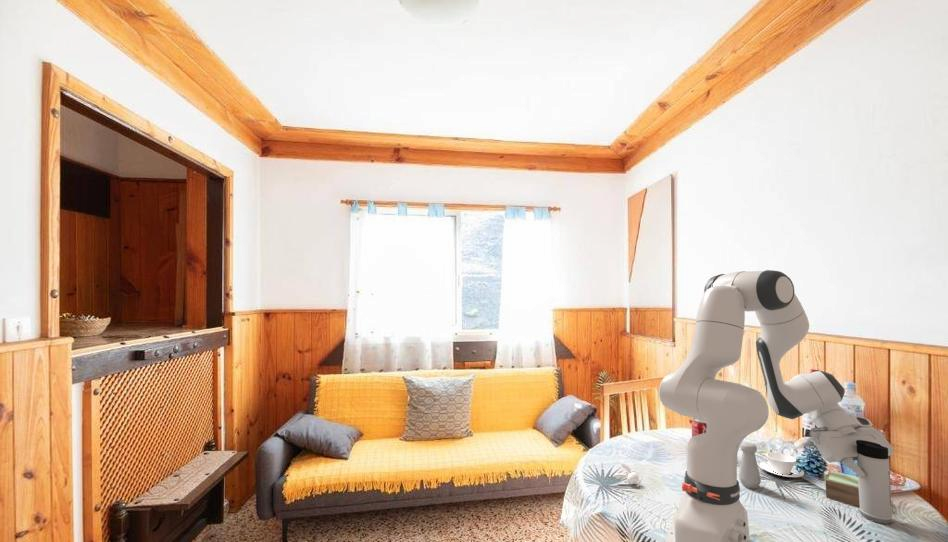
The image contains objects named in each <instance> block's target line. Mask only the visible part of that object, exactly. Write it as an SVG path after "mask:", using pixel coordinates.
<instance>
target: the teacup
mask: <svg viewBox="0 0 948 542" xmlns="http://www.w3.org/2000/svg"><path fill="white" fill-rule="evenodd" d="M760 455H761V458H762V460H763V461H761V462H760V463H759V467H760V468H761V469H762V470H764V471H766V472H768V473H770V474H774V475H777V476H782V477H787V478H801V477H803V476H804V475H805V472H804V471H803V470H802V471H801V472H800V473H798V474H792V475H788V474H790V472H791V470H792V468H793V466H795V464H796V462H797V459H796V458H795V457H794V456H792V455H789V454H786V453H782V452H775V451H773V452H772V451H769V452H766V453H763V452H762V453H760ZM764 456H765V457H766V458H767V461H766V459H765V457H764ZM773 471H774V472H773ZM775 472H776V473H775ZM777 473H778V474H777ZM782 474H783V475H782Z"/></svg>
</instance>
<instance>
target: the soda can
mask: <svg viewBox="0 0 948 542" xmlns="http://www.w3.org/2000/svg"><path fill="white" fill-rule="evenodd" d="M692 419H693V421H692V422H691V438H692V437H694V436H696V435H699V434H703V433H706V430H707V424H706V422H704V421H701V420H698V419H694V418H692Z"/></svg>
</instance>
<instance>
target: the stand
mask: <svg viewBox="0 0 948 542" xmlns="http://www.w3.org/2000/svg"><path fill="white" fill-rule="evenodd" d="M826 497H827V498H826ZM825 498H826V499H830V498H831V500H835V501H837V500H838V501H837V502H841V501H842V503H844V502H845V504H849V505H852V506H856V507H859V508H860V504H859V485H858V476H857V475H856V476H855V475H851V474H846V473H843V472H839V471H835V470H829V471H828V473H827V475H826V478H825Z"/></svg>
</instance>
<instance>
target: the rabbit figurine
mask: <svg viewBox="0 0 948 542" xmlns="http://www.w3.org/2000/svg"><path fill="white" fill-rule="evenodd" d="M620 463H621V466H622V468H623V469H624V471H626V472H627V473H615V474H613V477H614V478H616V479H625V478H626V480H625V481H624V484H626V483H628V484H629V485H634V484H635V486H636V487H637V488H639V486H641V482H642V478H641V477H639V475H638V474H637V473H636V472H634V471H632V470H631V468H630V466H628V464H627V463H626V462H624V461H623V460H620Z"/></svg>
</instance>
